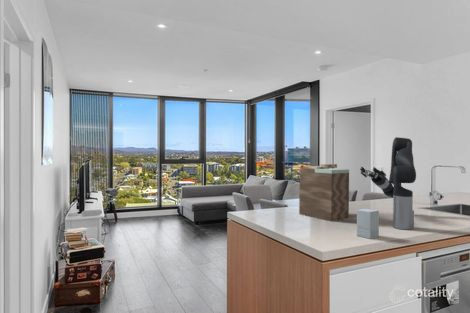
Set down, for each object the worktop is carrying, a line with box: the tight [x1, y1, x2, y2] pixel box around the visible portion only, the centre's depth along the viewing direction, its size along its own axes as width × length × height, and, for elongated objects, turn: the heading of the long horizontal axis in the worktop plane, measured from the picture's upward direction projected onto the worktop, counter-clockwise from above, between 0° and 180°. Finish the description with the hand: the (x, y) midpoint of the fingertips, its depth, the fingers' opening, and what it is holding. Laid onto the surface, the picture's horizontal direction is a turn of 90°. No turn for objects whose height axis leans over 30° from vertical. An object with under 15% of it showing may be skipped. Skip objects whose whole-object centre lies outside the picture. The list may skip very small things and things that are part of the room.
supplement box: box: [356, 208, 380, 240], centre depth 154 cm, size 7×7×13 cm
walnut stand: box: [298, 167, 350, 222], centre depth 204 cm, size 16×26×30 cm, turn 33°
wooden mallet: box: [303, 163, 338, 169], centre depth 215 cm, size 25×11×2 cm, turn 125°
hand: (367, 168), depth 196 cm, fingers open, 8 cm apart
